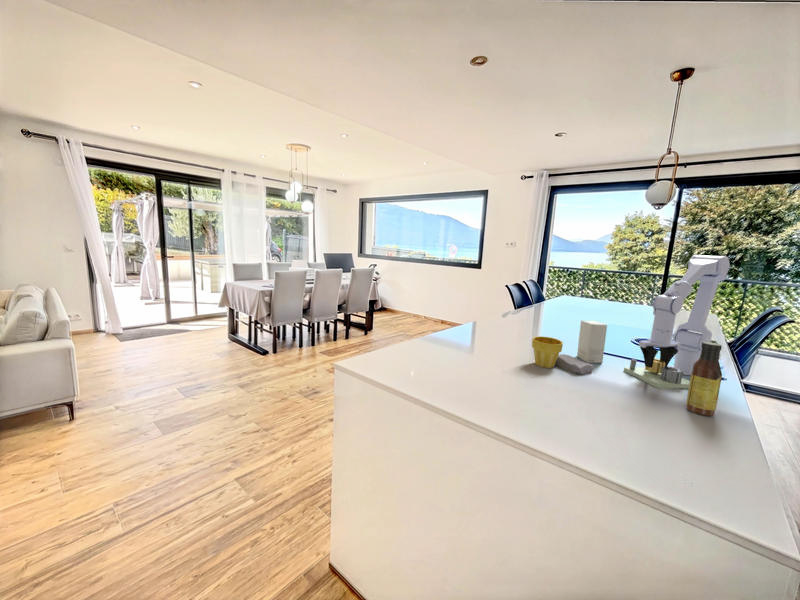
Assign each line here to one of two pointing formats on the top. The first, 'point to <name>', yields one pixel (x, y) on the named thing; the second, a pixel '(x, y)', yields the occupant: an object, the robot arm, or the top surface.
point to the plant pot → (546, 351)
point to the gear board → (654, 377)
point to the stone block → (573, 364)
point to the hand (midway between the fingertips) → (655, 366)
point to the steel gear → (671, 375)
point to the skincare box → (592, 341)
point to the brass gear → (656, 366)
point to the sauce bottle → (705, 381)
